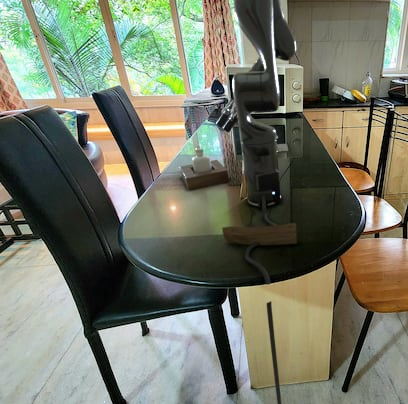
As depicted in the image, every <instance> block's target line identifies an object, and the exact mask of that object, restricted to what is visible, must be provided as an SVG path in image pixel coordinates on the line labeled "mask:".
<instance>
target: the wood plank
mask: <svg viewBox="0 0 408 404" xmlns="http://www.w3.org/2000/svg"><path fill="white" fill-rule="evenodd" d="M276 225H277V226H271V225H267V226H250V227H247V226H245V227H244V226H224V227H221V229H222V234H223V238H224V240H226V242H227V243H237V244H240V245H249V246H250V245H252V244H253V243H255V242H260V245H259V246H275V245H276V246H281V245H296V244H298V241H297V239H298V238H297V222H290V223H286V224H276Z"/></svg>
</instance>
